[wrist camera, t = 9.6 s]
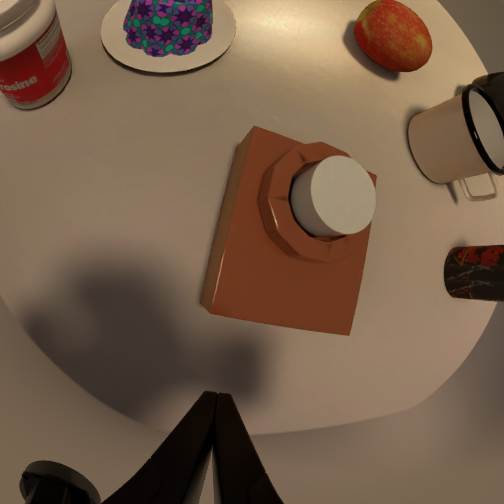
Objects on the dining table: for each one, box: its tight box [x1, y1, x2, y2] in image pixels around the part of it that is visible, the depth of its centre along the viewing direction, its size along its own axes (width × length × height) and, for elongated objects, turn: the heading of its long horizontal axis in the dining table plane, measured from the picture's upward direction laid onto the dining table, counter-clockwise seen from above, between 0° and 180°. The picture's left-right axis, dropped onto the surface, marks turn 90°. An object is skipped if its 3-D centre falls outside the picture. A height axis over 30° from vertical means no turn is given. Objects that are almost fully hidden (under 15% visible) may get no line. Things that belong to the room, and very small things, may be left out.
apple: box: [354, 0, 432, 72], centre depth 24 cm, size 8×8×8 cm
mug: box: [408, 84, 504, 201], centre depth 26 cm, size 12×10×9 cm
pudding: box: [101, 0, 236, 72], centre depth 19 cm, size 12×12×5 cm
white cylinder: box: [291, 155, 376, 237], centre depth 17 cm, size 4×4×2 cm
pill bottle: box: [0, 0, 71, 109], centre depth 13 cm, size 6×6×11 cm
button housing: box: [200, 126, 377, 336], centre depth 21 cm, size 12×10×6 cm
